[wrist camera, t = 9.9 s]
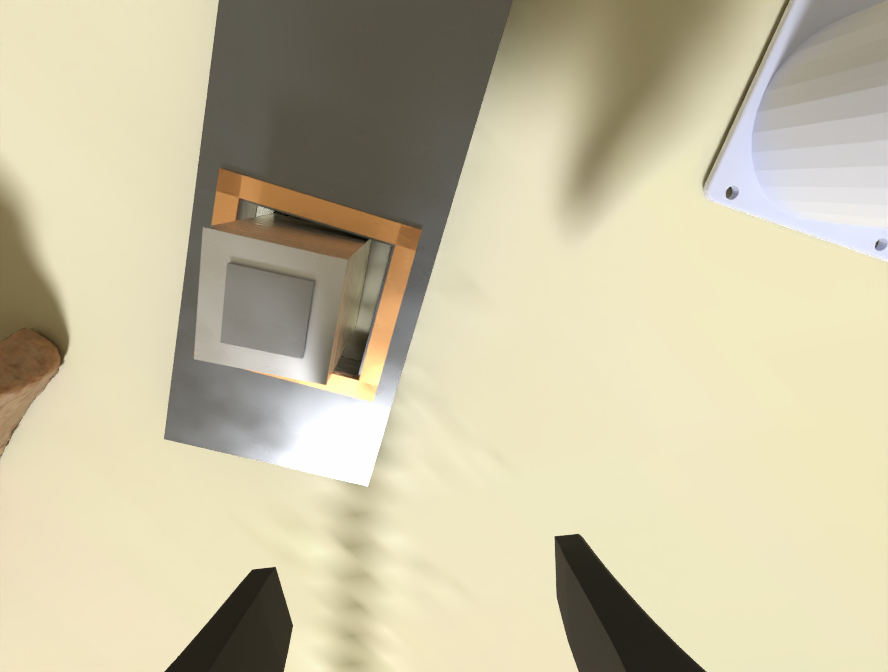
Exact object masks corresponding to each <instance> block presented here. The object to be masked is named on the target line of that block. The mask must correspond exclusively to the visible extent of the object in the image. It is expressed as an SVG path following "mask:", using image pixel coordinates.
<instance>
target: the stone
mask: <svg viewBox="0 0 888 672" xmlns="http://www.w3.org/2000/svg"><path fill="white" fill-rule="evenodd" d="M60 360H61V357H60V355H59V352H58V350H57V347H56V346H55V345H54V344H53V343H52V342H51V341H50V340H49V339H47V338H45V337H43V336H41V335H40V334H38V333H37V332H36V331H34V330H33V329H26V328H24V329H21V330H19V331H18V332H16V333H14V334H12V335H11V336H9V337H8V338H6V339H4V340H3V341H1V342H0V456H1V455H2V453H3V452H4V448H5V446H6V444H7V442H8V441H9V440H10V439H11V435H12V433H13V430H14V428H15V426H17V425H18V424H19V422H20V421H21V419H22V418H23V416H24V415H25V412H26V410H27V408H28V407H29V405H30V404H31V403H32V402H33V400H35V398H36V397H37V396H38V395H39V394H40V393H41V392H42V391H43V390H44V389H45V387H46V385H47V384H48V383H49V382H50V380H51V379H52V378H53V377H54V376H55V375H56V374H57V373H58V371H59V368H58V367H59V366H60V364H61V362H60ZM51 377H52V378H51Z"/></svg>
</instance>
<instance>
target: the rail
mask: <svg viewBox="0 0 888 672" xmlns="http://www.w3.org/2000/svg"><path fill="white" fill-rule="evenodd" d="M511 3H512V0H219V4H218V12H217V20H216V28H215V36H214V44H213V52H212V60H211V68H210V76H209V84H208V92H207V100H206V108H205V116H204V124H203V132H202V140H201V148H200V156H199V164H198V172H197V180H196V188H195V196H194V204H193V212H192V220H191V228H190V236H189V244H188V252H187V260H186V268H185V276H184V284H183V292H182V300H181V308H180V316H179V324H178V332H177V340H176V348H175V356H174V364H173V372H172V380H171V388H170V396H169V404H168V412H167V420H166V428H165V436H164V439H166V440H171V441H175V442H179V443H184V444H188V445H192V446H197V447H201V448H205V449H210V450H214V451H218V452H223V453H227V454H231V455H236V456H240V457H244V458H249V459H253V460H257V461H262V462H266V463H270V464H275V465H279V466H283V467H288V468H292V469H296V470H301V471H305V472H309V473H313V474H318V475H322V476H326V477H331V478H335V479H339V480H344V481H348V482H352V483H357V484H361V485H365V486H368V484H369V480H370V477H371V474H372V470H373V467H374V463H375V460H376V457H377V453H378V450H379V447H380V443H381V440H382V437H383V433H384V430H385V427H386V423H387V420H388V416H389V413H390V410H391V406H392V403H393V400H394V396H395V393H396V390H397V386H398V383H399V380H400V376H401V373H402V369H403V366H404V363H405V359H406V356H407V353H408V349H409V346H410V343H411V339H412V336H413V332H414V329H415V326H416V322H417V319H418V316H419V312H420V309H421V306H422V302H423V299H424V296H425V292H426V289H427V285H428V282H429V279H430V275H431V272H432V269H433V265H434V262H435V259H436V255H437V252H438V249H439V245H440V242H441V238H442V235H443V232H444V228H445V225H446V222H447V218H448V215H449V212H450V208H451V205H452V202H453V198H454V195H455V191H456V188H457V185H458V181H459V178H460V175H461V171H462V168H463V165H464V161H465V158H466V155H467V151H468V148H469V144H470V141H471V138H472V134H473V131H474V128H475V124H476V121H477V118H478V114H479V111H480V108H481V104H482V101H483V97H484V94H485V91H486V87H487V84H488V81H489V77H490V74H491V71H492V67H493V64H494V60H495V57H496V54H497V50H498V47H499V44H500V40H501V37H502V34H503V30H504V27H505V24H506V20H507V17H508V13H509V10H510V7H511ZM257 205H258V206H261V207H265V208H268V209H271V210H275V211H278V212H281V213H285V214H288V215H291V216H295V217H298V218H301V219H305V220H308V221H311V222H315V223H318V224H321V225H325V226H328V227H331V228H335V229H338V230H341V231H345V232H348V233H351V234H355V235H358V236H361V237H365V238H368V239H371V240H375V241H378V242H381V243H385V244H388V245H391V246H392V250H391V253H390V257H389V261H388V265H387V269H386V272H385V276H384V280H383V284H382V287H381V291H380V295H379V299H378V302H377V306H376V310H375V314H374V317H373V321H372V325H371V329H370V333H369V336H368V340H367V344H366V348H365V351H364V355H363V359H362V362H360V361H356V360H352V359H348V358H345V357H340V359H339V361H338V363H337V365H336V367H335V369H334V371H333V373H332V375H331V377H330V379H329V381H328V383H327V385H322V384H317V383H312V382H307V381H302V380H297V379H292V378H287V377H282V376H277V375H272V374H266V373H261V372H256V371H251V370H246V369H241V368H236V367H231V366H226V365H221V364H216V363H211V362H206V361H200V360H195V359H194V350H195V335H196V320H197V305H198V291H199V276H200V261H201V246H202V231H203V227H206V226H211V225H216V224H222V223H227V222H232V221H237V220H242V219H247V218H253V217H255V216H256V210H257Z"/></svg>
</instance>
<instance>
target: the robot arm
mask: <svg viewBox="0 0 888 672" xmlns="http://www.w3.org/2000/svg"><path fill="white" fill-rule="evenodd" d="M729 187H732V190H733V192H732V195H731V196H730V198H726V190H727V189H728V188H729ZM703 192H704V196H705V198H706V199H707V200H709V201H711V202H714V203H717V204H719V205H722V206H725V207H728V208H731V209H734V210H737V211H740V212H743V213H746V214H749V215H752V216H754V217H757V218H760V219H763V220H766V221H769V222H772V223H775V224H778V225H781V226H784V227H787V228H789V229H792V230H795V231H798V232H801V233H804V234H807V235H810V236H813V237H816V238H819V239H822V240H824V241H827V242H830V243H833V244H836V245H839V246H842V247H845V248H848V249H851V250H854V251H857V252H859V253H862V254H865V255H868V256H871V257H874V258H877V259H880V260H883V261H886V262H888V0H790V1H789V3H788V5H787V7H786V10H785V12H784V14H783V16H782V18H781V20H780V23H779V25H778V27H777V29H776V31H775V33H774V36H773V38H772V40H771V42H770V44H769V46H768V49H767V51H766V53H765V55H764V57H763V59H762V62H761V64H760V66H759V68H758V70H757V72H756V75H755V77H754V79H753V81H752V83H751V85H750V88H749V90H748V92H747V94H746V96H745V99H744V101H743V103H742V105H741V107H740V109H739V112H738V114H737V116H736V118H735V120H734V122H733V125H732V127H731V129H730V131H729V133H728V135H727V138H726V140H725V142H724V144H723V146H722V148H721V151H720V153H719V155H718V157H717V159H716V161H715V164H714V166H713V168H712V170H711V172H710V174H709V177H708V179H707V181H706V183H705V186H704V189H703ZM878 240H879V243H878V245H877V246H876V248H875V244H876V242H877V241H878ZM555 561H556V590H557V600H558V604H559V608H560V612H561V616H562V620H563V624H564V628H565V631H566V635H567V639H568V642H569V645H570V648H571V651H572V654H573V657H574V659H575V662H576V665H577V668H578V671H579V672H706V671H705V670H704V669H703V668H702V667H701V666H699V665H698V664H697V663H696V662H695V661H694V660H693V659H692V658H691V657H690V656H689V655H688V654H687V653H685V652H684V651H683V650H682V649H681V648H680V647H679V646H678V645H677V644H676V643H675V642H674V641H673V640H672V639H671V638H670V637H669V636H668V635H667V634H666V633H665V632H664V631H663V630H662V629H661V628H660V627H659V626H658V625H657V624H656V623H655V622H654V621H653V620H652V619H651V618H650V616H649V615H648V614H647V613H646V612H645V611H644V610H643V609H642V608H641V607H640V606H639V605H638V604H637V602H636V601H635V600H634V599H633V598H632V597H631V596H630V595H629V594H628V592H627V591H626V590H625V589H624V588H623V587H622V586H621V585H620V583H619V582H618V581H617V580H616V579H615V578H614V576H613V575H612V574H611V573H610V572H609V570H608V569H607V568H606V567H605V565H604V564H603V563H602V562H601V561H600V559H599V558H598V557H597V555H596V554H595V553H594V552H593V550H592V549H591V548H590V546H589V545H588V544H587V542H586V541H585V540H584V538H583V537H582V536H580V535H579V534H573V535H564V536H555ZM292 628H293V624H292V621H291V618H290V614H289V611H288V607H287V604H286V601H285V597H284V594H283V590H282V587H281V584H280V580H279V577H278V574H277V570H276V567H272V568H263V569H254V570H252V571H251V572H250V573H249V574H248V575H247V576H246V578H245V579H244V580H243V581H242V582H241V583H240V585H239V586H238V587H237V588H236V589H235V590H234V592H233V593H232V594H231V595H230V596H229V598H228V599H227V600H226V601H225V602H224V604H223V605H222V606H221V607H220V608H219V610H218V611H217V612H216V613H215V614H214V616H213V617H212V618H211V619H210V620H209V622H208V623H207V624H206V625H205V626H204V627H203V629H202V630H201V631H200V632H199V633H198V634H197V636H196V637H195V638H194V639H193V640H192V641H191V643H190V644H189V645H188V646H187V647H186V648H185V650H184V651H183V652H182V653H181V654H180V655H179V656H178V657H177V659H176V660H175V661H174V662H173V663H172V664H171V665H170V666H169V667H168V668H167V669H166V671H165V672H284V668H285V663H286V658H287V654H288V649H289V644H290V638H291V633H292Z"/></svg>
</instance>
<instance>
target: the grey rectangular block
mask: <svg viewBox="0 0 888 672" xmlns="http://www.w3.org/2000/svg"><path fill="white" fill-rule="evenodd" d="M370 246H371V239H368V238H365V237H361V236H358V235H355V234H351V233H348V232H345V231H341V230H338V229H335V228H331V227H328V226H325V225H321V224H317V223H312V222H308V221H304V220H299V219H295V218H291V217H287V216H282V215H278V214H274V213H273V214H268V215H263V216H258V217H253V218H247V219H242V220H237V221H232V222H227V223H222V224H216V225H211V226H206V227H203V231H202V246H201V261H200V276H199V291H198V305H197V320H196V335H195V350H194V359H195V360H200V361H206V362H211V363H216V364H221V365H226V366H231V367H236V368H241V369H246V370H251V371H256V372H261V373H266V374H272V375H277V376H282V377H287V378H292V379H297V380H302V381H307V382H312V383H317V384H322V385H327V383H328V381H329V379H330V377H331V375H332V373H333V371H334V369H335V367H336V365H337V363H338V361H339V359H340V357H341V355H342V353H343V351H344V349H345V347H346V345H347V343H348V341H349V339H350V337H351V335H352V333H353V331H354V329H355V327H356V322H357V317H358V311H359V306H360V300H361V295H362V289H363V284H364V278H365V273H366V268H367V262H368V257H369V251H370Z"/></svg>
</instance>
